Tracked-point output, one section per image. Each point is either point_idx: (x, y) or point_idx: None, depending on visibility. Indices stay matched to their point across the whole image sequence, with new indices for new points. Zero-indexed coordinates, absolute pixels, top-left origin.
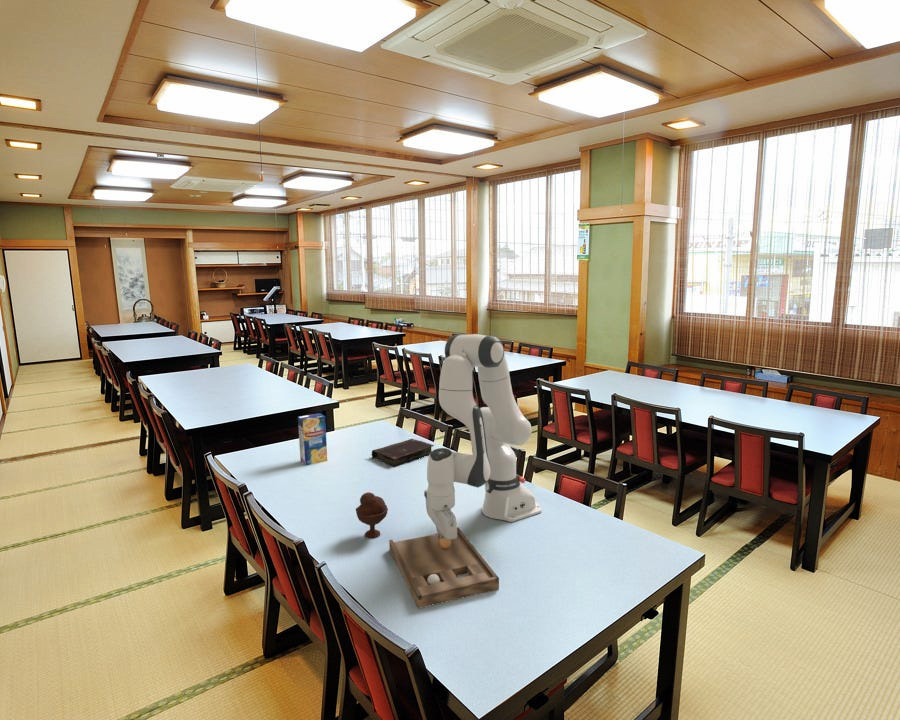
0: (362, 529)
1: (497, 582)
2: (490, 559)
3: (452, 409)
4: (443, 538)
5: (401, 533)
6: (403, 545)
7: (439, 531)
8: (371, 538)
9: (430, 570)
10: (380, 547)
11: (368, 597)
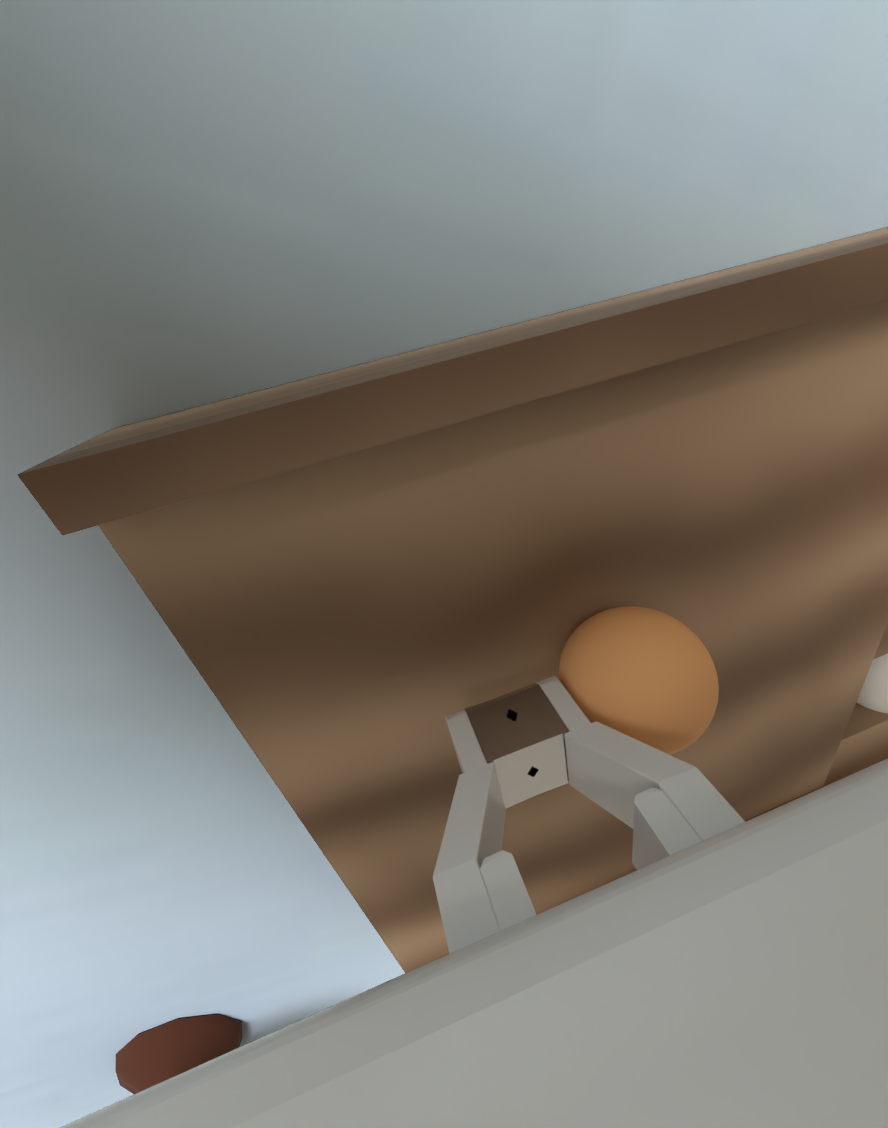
0: (106, 1103)
1: None
2: (820, 10)
3: None
4: (683, 748)
5: (129, 941)
6: None
7: (498, 825)
8: (240, 1029)
9: (825, 708)
10: (360, 959)
11: None
